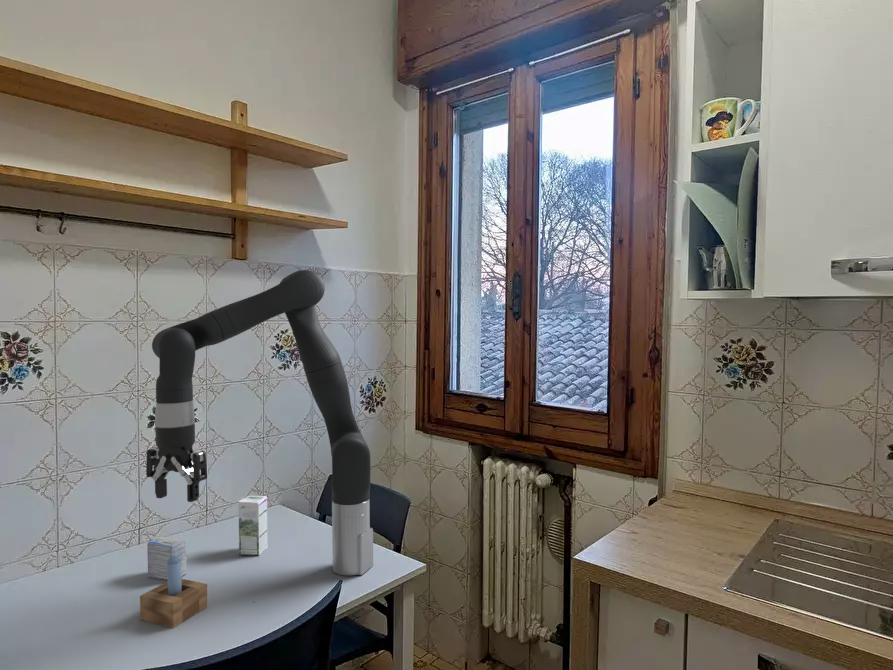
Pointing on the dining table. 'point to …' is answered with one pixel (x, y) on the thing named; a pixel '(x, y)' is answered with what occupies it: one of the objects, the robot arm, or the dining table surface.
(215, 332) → the robot arm
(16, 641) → the dining table surface
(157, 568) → the medicine box
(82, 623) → the dining table surface
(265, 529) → the syrup box
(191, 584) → the hollow square block
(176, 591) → the blue rounded rod
